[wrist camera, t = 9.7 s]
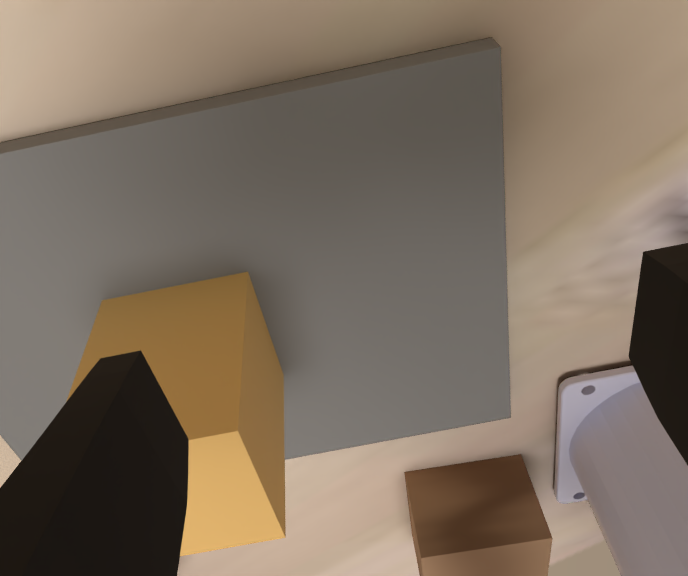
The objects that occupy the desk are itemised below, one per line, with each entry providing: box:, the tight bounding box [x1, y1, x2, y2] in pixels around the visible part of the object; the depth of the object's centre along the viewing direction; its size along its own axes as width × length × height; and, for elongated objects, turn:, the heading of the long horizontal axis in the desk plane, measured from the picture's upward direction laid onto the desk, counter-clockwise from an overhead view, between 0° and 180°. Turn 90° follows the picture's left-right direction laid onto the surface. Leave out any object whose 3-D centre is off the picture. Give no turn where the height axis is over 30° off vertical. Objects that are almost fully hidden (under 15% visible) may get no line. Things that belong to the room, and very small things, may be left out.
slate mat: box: [0, 37, 511, 461], centre depth 20 cm, size 18×14×1 cm
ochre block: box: [66, 272, 285, 556], centre depth 18 cm, size 4×4×6 cm
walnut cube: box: [405, 454, 552, 576], centre depth 27 cm, size 5×5×4 cm
